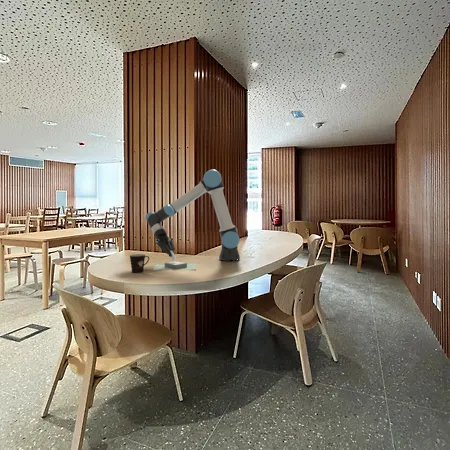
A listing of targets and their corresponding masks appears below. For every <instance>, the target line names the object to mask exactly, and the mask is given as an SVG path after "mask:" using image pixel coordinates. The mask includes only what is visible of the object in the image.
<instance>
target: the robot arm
mask: <svg viewBox="0 0 450 450" xmlns="http://www.w3.org/2000/svg"><path fill="white" fill-rule="evenodd" d="M224 188H225V186H224V183H223V180H222V174H221V172H219V171H218V170H216V169H209V170H208V171H206V172H205V173H204V175H203V178H202V179H201V180H200V181H199V183H198V184H197V185H196V186H193V187H192V188H191V189H190V190H188V191H186V193H184V194H183V195H181V196H179V197H178V198H177V199H176V200H174V201H173V202H171V203H170V204H169V203H168V204H166V205H164V206H163V207H161V208H160V209H159V210H158V211H156V212H155V211H150V212H147V213H146V215H145V220H146V223H147V224H148V226H149V228H150V229H151V231H152V233H153V235H154V237H155V241H154V243H155V244H157V246H158V247H159V248H160V249H161V250H162V251H163V253H164V254H167V255H168V256H169V257H170V259H171V260H172V261H171V262H173V261H176V260H177V256H176V253H175V252H174V251H175V249H176V247H175V245H174V241H173V238H172V237H169V236H168V235H167V232H166V230H165V228H164V226H163V225H162V222H164V221H165V220H166V219H168V218H172V217H173V216H174V215H175V214H178V213H179V212H180V211H181V210H182V209H184V208H185V207H187V206H188V205H190V204H191V203H193V202H194V201H195V200H196V199H198V198H200V197H201V196H202V195H204V194H205V193H208V194H209V195H210V198H211V201H212V204H213V208H214V211H215V214H216V218H217V220H218V224H219V227H220V228H219V236H220V239H221V250H220V253H219V256H218V260H219V261H221V260H223V262H231V261H230V260H237V259H240V260H241V256H240V253H239V250H238V247H239V244H240V235H239V234H238V233H239V231H238V228H237V227H236V225H234V223H233V221H232V218H231V214H230V212H229V207H228V204H227V200H226V197H225V195H224V191H223V190H224Z"/></svg>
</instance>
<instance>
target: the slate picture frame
mask: <svg viewBox="0 0 450 450" xmlns="http://www.w3.org/2000/svg"><path fill="white" fill-rule="evenodd" d="M164 264H165V267H167V268H171V269H181V268H186V267H187V264H188V263H187V262H182V261H179V260H178V261H176V260H175V261H168V262H164Z"/></svg>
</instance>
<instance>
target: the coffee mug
mask: <svg viewBox="0 0 450 450" xmlns="http://www.w3.org/2000/svg"><path fill="white" fill-rule="evenodd" d="M146 258H147V261H146V262H145V260H146ZM129 260H130V266H131V267H130V268H131V273H133V274H141V273H144V267H145V266H146V265H147V264H148V263H149V261H150V256H148V255H146V254H145V253H144V254H143V253H134V254H129Z"/></svg>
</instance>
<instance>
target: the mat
mask: <svg viewBox="0 0 450 450" xmlns="http://www.w3.org/2000/svg"><path fill="white" fill-rule="evenodd" d="M175 270H178V271H179V270H181V271H183V270H185V271H186V270H188V271H191V270H192V271H197V265H196V263H187V267H186V268H181V269H171V268H167V267H165V263H163V264H160V263H159V264H155V265H154V266H153V268H152V271H175Z"/></svg>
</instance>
